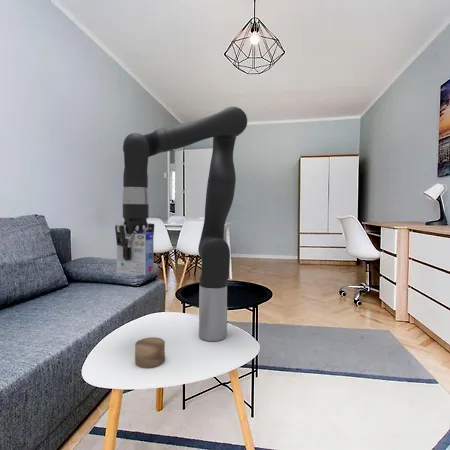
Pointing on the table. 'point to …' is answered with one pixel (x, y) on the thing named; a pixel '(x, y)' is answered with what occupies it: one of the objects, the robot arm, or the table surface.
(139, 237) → the ink cartridge box
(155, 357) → the walnut block
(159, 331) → the table surface
